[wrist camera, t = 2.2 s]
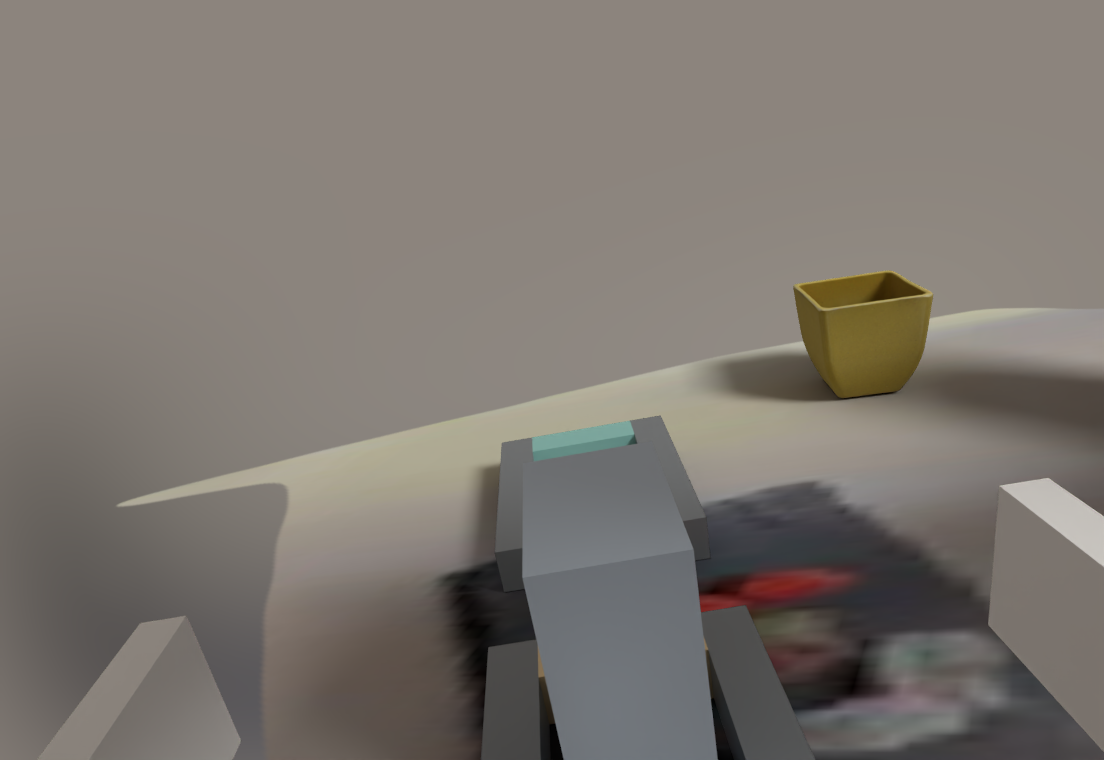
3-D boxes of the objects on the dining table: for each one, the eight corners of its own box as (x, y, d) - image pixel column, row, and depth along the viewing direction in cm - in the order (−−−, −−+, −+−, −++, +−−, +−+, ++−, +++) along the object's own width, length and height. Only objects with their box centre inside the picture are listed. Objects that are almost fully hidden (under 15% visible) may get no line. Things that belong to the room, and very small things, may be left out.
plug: (685, 711, 33) (647, 429, 27) (732, 888, 25) (693, 549, 20) (581, 728, 33) (522, 451, 28) (597, 909, 26) (522, 577, 20)
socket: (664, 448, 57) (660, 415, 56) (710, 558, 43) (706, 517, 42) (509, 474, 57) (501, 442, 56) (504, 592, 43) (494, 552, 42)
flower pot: (795, 374, 66) (791, 282, 63) (890, 361, 65) (891, 268, 62) (823, 412, 58) (820, 310, 55) (932, 398, 57) (936, 293, 54)
